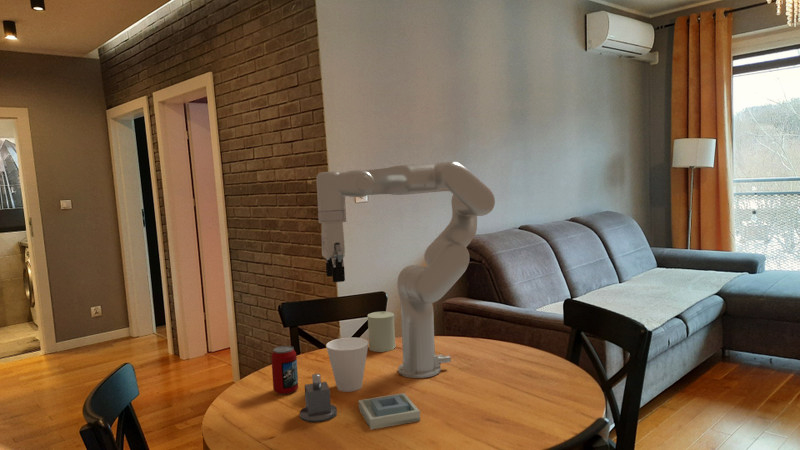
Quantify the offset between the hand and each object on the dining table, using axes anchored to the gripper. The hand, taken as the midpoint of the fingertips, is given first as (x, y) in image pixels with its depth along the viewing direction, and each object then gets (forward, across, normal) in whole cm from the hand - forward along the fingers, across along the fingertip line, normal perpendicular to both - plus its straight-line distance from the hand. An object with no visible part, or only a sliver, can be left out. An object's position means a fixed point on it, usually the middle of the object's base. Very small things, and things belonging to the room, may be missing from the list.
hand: (335, 278), depth 153 cm
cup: (+31, +2, +2) cm, 31 cm away
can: (+31, -29, +20) cm, 47 cm away
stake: (+30, +17, -9) cm, 36 cm away
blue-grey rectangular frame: (+30, +24, +7) cm, 39 cm away
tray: (+30, +24, +7) cm, 39 cm away
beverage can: (+31, -2, -15) cm, 34 cm away
